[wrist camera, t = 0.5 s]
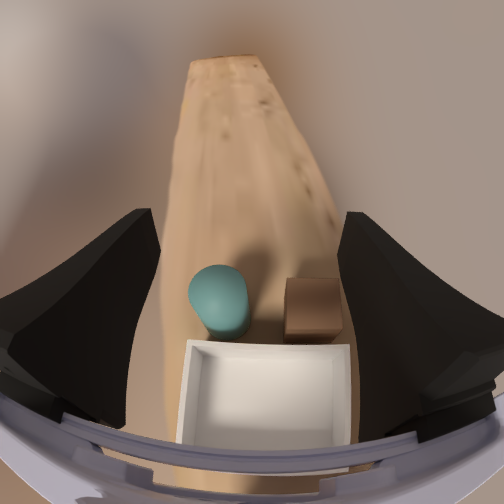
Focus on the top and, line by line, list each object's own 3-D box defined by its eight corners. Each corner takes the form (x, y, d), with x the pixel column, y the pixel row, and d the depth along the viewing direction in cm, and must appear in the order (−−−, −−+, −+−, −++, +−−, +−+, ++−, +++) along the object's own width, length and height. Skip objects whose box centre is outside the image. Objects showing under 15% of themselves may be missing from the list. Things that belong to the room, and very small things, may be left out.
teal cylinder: (249, 341, 27) (244, 319, 22) (201, 338, 28) (183, 315, 22) (252, 297, 30) (248, 265, 24) (207, 295, 30) (193, 263, 25)
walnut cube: (330, 342, 27) (342, 328, 23) (283, 343, 27) (286, 328, 23) (328, 299, 30) (338, 278, 25) (284, 299, 30) (286, 277, 26)
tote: (334, 462, 20) (348, 471, 15) (189, 456, 21) (174, 464, 16) (336, 356, 26) (349, 344, 22) (200, 351, 27) (187, 339, 23)
